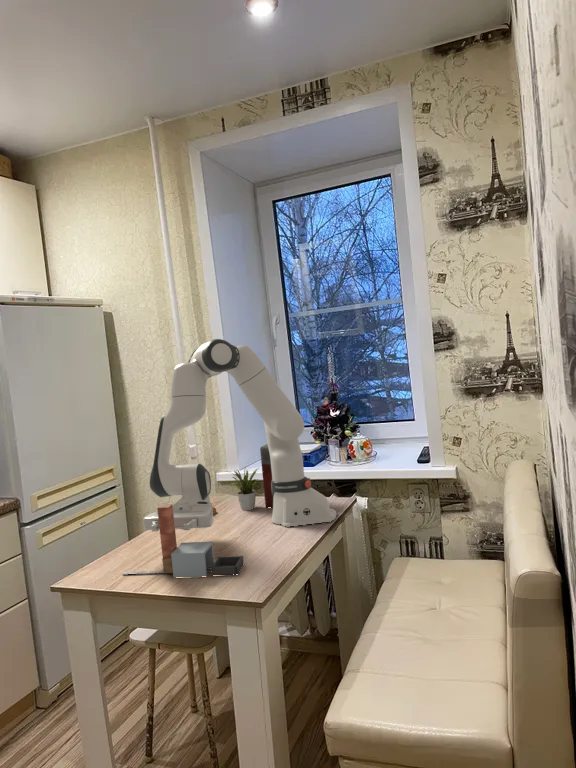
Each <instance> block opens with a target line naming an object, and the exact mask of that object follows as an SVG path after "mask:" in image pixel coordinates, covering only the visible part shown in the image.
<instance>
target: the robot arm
mask: <svg viewBox="0 0 576 768" xmlns="http://www.w3.org/2000/svg"><path fill="white" fill-rule="evenodd" d="M223 372H226V373H228V374H229V375H230V376H232V378H233V379H234V381H235V382H236V384H237V386H238V387H239V389H240V390H241V391H242V393H243V395H244V396H245V397H246V399H247V400H248V402H249V403H250V404H251V406H252V407H253V408H254V409H255V411H256V412H257V413H258V415H259V416H260V418H261V419H262V420H263V424H264V432H265V437H266V444H268V449H269V453H270V460H271V470H272V480H271V488H272V495H273V509H272V513H271V514H272V516H271V520H270V521H271V523H273V524H276V525H280V524H281V526H283V527H285V526H286V527H285V528H291V527H290V526H294V527H299V526H298V525H303V526H306V525H305V524H312V525H314V524H313V523H320V522H330V521H332V520H334V519H335V518H336V519H337V517H336V515H337V511H336V510H335V509H333V508H331V507H330V503H329V500H328V499H327V497H326V496H325V495H324V494H323V493H320V492H319V491H318V490H316V489H314V488H313V487H312V481H311V477H308V476H305V470H304V457H303V452H302V449H301V446H300V441H299V437H301V435H303V433H304V430H305V421H304V419H303V416H302V415H301V414H300V412H299V411H298V409H297V408H296V407H295V405H294V404H293V403H292V402H291V399H289V398H288V396H287V395H286V394H285V392H284V391H283V390H282V389H281V388H280V386H279V385H278V384H277V383H278V382H276V380H275V378H274V377H273V376H272V374H271V373H270V371H269V370H268V368H267V367H266V365H265V363H264V362H263V361H262V360H261V358H260V357H259V356H258V355H257V354H256V353H255V351H253V350H252V348H251V347H249V346H248V345H245V344H241V345H237V346H235V345H233V344H232V343H230V342H229V341H227V340H224V339H221V338H214V339H210V340H209V341H206V342H203V343H202V344H200V346H199V347H197V348H196V349H195V350H194V351H193V352H192V354H191V355H190V357H189V359H188V361H187V362H186V361H185V362H181V363H179V364H177V365H176V366H175V367H174V369H173V372H172V376H171V386H170V404H169V408H168V410H167V412H166V413H165V414H163V415H162V416H161V418H160V421H159V422H160V423H159V425H158V432H157V437H156V444H155V451H154V459H153V465H152V467H151V472H150V475H149V476H150V477H149V487H150V490H151V491H152V492H153V493H154V494H155V495H156V496H158V498H164V497H165V498H167V497H172V496H182V497H181V498H179V500H177V501H176V502H175V503H173V504H172V505H173V514H174V524H175V530H177V529H178V530H181V531H182V530H183V531H190V530H191V529H200V528H201V529H203V528H210V527H212V526H213V524H214V515H213V509H212V507H213V505H212V504H213V503H212V502H211V497H210V494H211V488H212V480H211V475H210V473H209V471H208V469H207V468H206V467H205V466H204V465H203V464H201V463H184V464H170V456H171V449H172V442H173V438H174V437H175V435H176V434H177V433H178V432H180V431H182V430H184V429H185V428H188V427H190V426H193V425H195V424H196V423H198V422H199V421H200V420H202V418H203V417H204V416H205V413H206V409H207V394H206V393H207V392H206V386H207V381H208V378H211V377H216V376H218V375H220V374H223ZM337 516H338V515H337ZM336 519H335V520H336ZM335 520H334V521H335ZM332 522H333V521H332ZM330 523H331V522H330ZM142 524H143V529H144V530H146V531H151V532H152V533H153V532H158V531H160V528H159V519H158V511H154V512H151V513H149V514H147V515H146V516H144V517H143V518H142Z"/></svg>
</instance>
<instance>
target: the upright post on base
mask: <svg viewBox="0 0 576 768" xmlns="http://www.w3.org/2000/svg"><path fill="white" fill-rule="evenodd" d="M173 505H174V504H173V503H169V504H168V503H167V504H160V505H159V506H158V507H157V512H158V519H159V528H160V530H159V535H160V536H159V537H160V545H161V556H162V558H161V560H162V569H163V570H162V571H164V573H173V567H172V557H171V554H172V553H173V552H174V550H175V549H176V548H177V547H178V544H177V535H176V529H175V524H174V514H173Z"/></svg>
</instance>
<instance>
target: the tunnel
mask: <svg viewBox="0 0 576 768" xmlns="http://www.w3.org/2000/svg"><path fill="white" fill-rule="evenodd" d="M213 544H214V543H213V541H212V540H211V541H210V540H209V541H194V542H193V541H192V542H181V543H180V544H179V545H177V548H176V549H175V550H174V552H173V553H172V554H171V557H172V567H173V575H172V576H173V579H174V578H176V577H202V576H207V577H208V572H207V569H208V568H207V567H206V566H209V567H212V566H213V565H214V563H215V556H214V555H215V554H214V545H213Z"/></svg>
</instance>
